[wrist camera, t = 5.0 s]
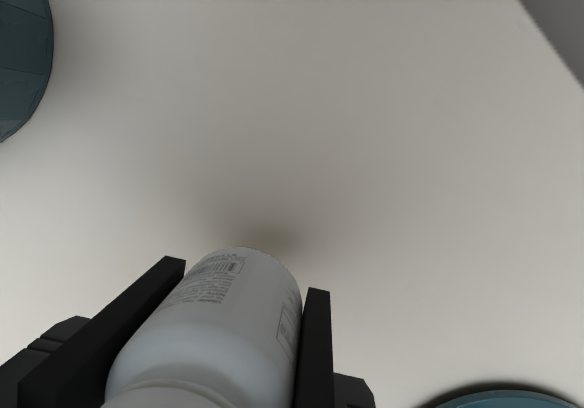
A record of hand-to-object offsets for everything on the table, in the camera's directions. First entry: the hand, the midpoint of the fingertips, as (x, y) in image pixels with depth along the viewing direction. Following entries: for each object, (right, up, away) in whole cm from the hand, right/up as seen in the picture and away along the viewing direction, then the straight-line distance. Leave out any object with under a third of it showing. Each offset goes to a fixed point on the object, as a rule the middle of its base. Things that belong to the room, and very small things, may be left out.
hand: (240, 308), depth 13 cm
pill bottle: (0, 0, +1) cm, 1 cm away
